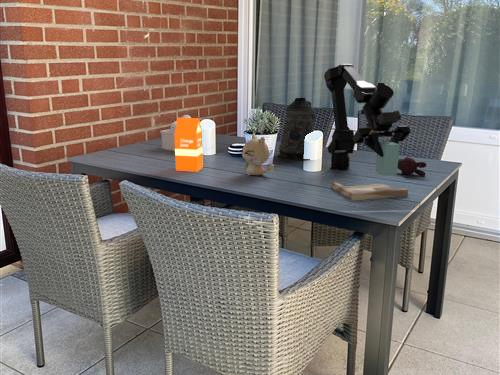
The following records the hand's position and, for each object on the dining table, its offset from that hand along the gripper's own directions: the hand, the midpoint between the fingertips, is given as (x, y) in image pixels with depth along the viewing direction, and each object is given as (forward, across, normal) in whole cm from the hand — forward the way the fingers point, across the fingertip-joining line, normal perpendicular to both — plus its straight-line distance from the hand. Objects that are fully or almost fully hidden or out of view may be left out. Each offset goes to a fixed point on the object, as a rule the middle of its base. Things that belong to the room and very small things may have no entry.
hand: (389, 156), depth 161 cm
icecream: (-5, +20, +23) cm, 31 cm away
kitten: (-16, -35, +34) cm, 51 cm away
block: (+3, 0, +5) cm, 6 cm away
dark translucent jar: (-35, -7, +54) cm, 64 cm away
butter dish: (-55, -51, +74) cm, 105 cm away
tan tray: (+8, -6, +10) cm, 14 cm away
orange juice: (-26, -57, +45) cm, 77 cm away
